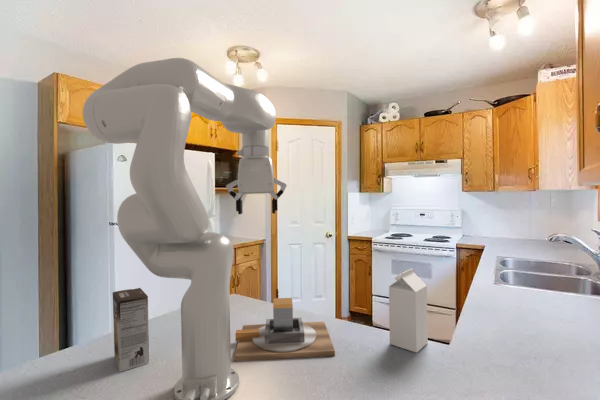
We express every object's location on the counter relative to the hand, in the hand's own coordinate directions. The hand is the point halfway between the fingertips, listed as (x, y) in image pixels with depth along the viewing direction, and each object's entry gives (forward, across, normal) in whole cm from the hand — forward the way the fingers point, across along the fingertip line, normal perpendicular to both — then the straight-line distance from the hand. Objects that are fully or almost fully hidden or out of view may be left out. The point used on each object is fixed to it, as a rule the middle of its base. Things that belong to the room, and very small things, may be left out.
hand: (257, 213), depth 90 cm
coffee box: (+34, -29, -15) cm, 47 cm away
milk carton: (+34, +40, -10) cm, 53 cm away
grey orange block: (+32, +7, -7) cm, 34 cm away
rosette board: (+34, +7, -7) cm, 35 cm away
